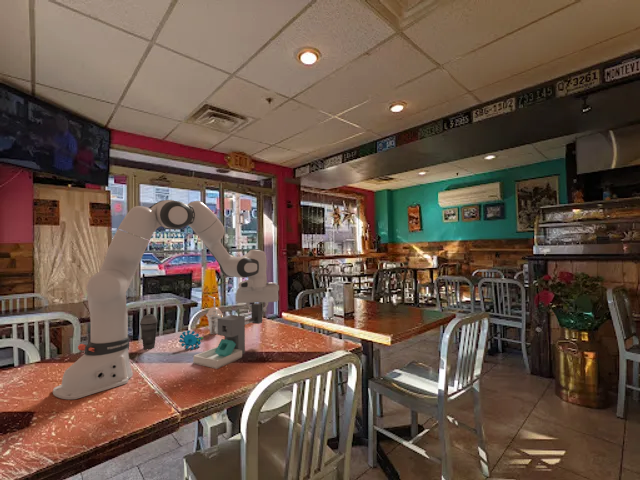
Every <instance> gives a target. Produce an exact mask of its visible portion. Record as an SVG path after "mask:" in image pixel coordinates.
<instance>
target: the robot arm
mask: <svg viewBox="0 0 640 480" xmlns="http://www.w3.org/2000/svg"><path fill="white" fill-rule="evenodd" d="M187 226H189V227H190V228H191V229H192V231H193V232H194V233H195V234H196V235H197V237H199V239H200V240H201V241H202V242H203V244H204V245H205V247H206V249H207V250H208V251H209V253H211V255H212V256H213V258H214V259H215V261H216V262H217V263H218V266H219V269H220V272H221V273H222V275H224V276H225V277H227V278H243V279H244V278H245V280H242V281H240V282H239V283H238V288H237V290H236V295H235V302H236V303H237V304H245V306H246V308H247V309H248V313H252V307H250V304H254V303H265V304H264V305H265V306H264V307H263V306H262V313H263V312H267V308H268V306H269V303H277V302H278V301H279V291H280V285H279V284H278V283H277V282H267V281H268V277H267V276H268V275H267V266H268V265H267V263H268V262H267V254H266V252H265V251H264V250H261V249H255V248H254V249H253V248H252V249H250V250H249V251H248V252H247V253H245V254H243V255H241V256H234V255H231V254H230V253H229V252H228V250H227V249H226V248H225V246H224V245H223V243H222V242H221V240H222V239H223V237H224V235H225V227H224V225H223V223H222V221H221V220H220V219H219V218H218V216H217V215H216V214H215V212H213V211H212V210H211V209H210V208H209V207H208V205H206V204H204V202H202V201H201V200H200V201H199V200H195V201H190V202H189V203H188V204H187V203H185V202H181V201H178V200H173V199H165V200H164V199H163V200H160V201H157V202H155V203H154V204H152V205H151V206H149V207H147V206H143V205H136V206H133V207H131V209H130V210H129V211H128V212H127V214H126V215H125V216H124V218H123V219H122V220H121V222H120V224H119V226H118V228H117V230H116V232H115V234H114V236H113V238H112V240H111V241H110V244H109V246H108V248H107V251H106V254H105V256H104V259H103V262H102V265H101V267H100V269H99V271H97V272H96V273H95V274H92V275H91V277H89V279H88V281H87V284H86V293H87V294H86V295H87V305H88V311H89V319H90V340H89V342H88V343H87V344H84V343H81V344H78V346H77V350H79V351H84V354H83V355H82V356H80V357H79V358H78V359H77V360H76V361H75V362H74V363H72V364H71V365H70V366H69V367H68V368H67V369H66V370H65V371H64V373H63V375H62V379H61V384H60V385H57V386H54V387H53V389H52V394H53V396H54V397H56V398H59V399H62V400H77V399H80V398H84V397H87V396H91V395H93V394H96V393H99V392H103V391H106V390H109V389H113V388H115V387H116V388H117V387H119V386H124V385H125V384H127V383H128V382H129V379H130V378H132V377H133V375H134V373H133V370H132V367H131V361H130V355H129V350H130V336H129V334H128V333H129V332H128V331H129V329H128V327H129V323H128V322H129V319H128V318H129V313H128V306H127V291H128V290H129V288H130V285H131V284H132V281H133V279H134V276H135V275H136V271H137V269H138V267H139V265H140V262H141V260H142V258H143V256H144V254H145V251H146V249H147V247H148V245H149V243H150V241H151V239H152V237H153V235H154V233H155V231H156V230H157V229H159V228H160V227H162V228H165V229H171V230H178V229H182V228H185V227H187ZM246 278H248V279H246Z"/></svg>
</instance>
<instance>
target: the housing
mask: <svg viewBox="0 0 640 480" xmlns="http://www.w3.org/2000/svg"><path fill="white" fill-rule="evenodd" d="M245 320H246V319H245V316H242V315H235V314H229V315H226V316H221V318H218V334H217V336H221V337H224V339H225V340H231V341H233V342H234V343H235V344H236V345H235V347H234V349H238V350H242V355H244V354H246V336H245V335H246V329H245V328H246V327H245V326H246V325H245ZM225 326H227V331H226V330H225Z"/></svg>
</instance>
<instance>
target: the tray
mask: <svg viewBox="0 0 640 480" xmlns="http://www.w3.org/2000/svg"><path fill="white" fill-rule="evenodd" d="M217 347H218V346H216V347H213V348H210V349H208V350H205V351H202V352H200V353H197V354H194V355H193V358H192V359H193V361H192V362H193V364H194V365H199V366H203V367H206V368H207V367H208V368H211V369H215V370H218V369H220V368H222V367H225V366H226V365H227V366H228V365H229V364H231V363H233V362H235V361H238V360H239V359H242V358H243V354H242V350H238V349H233V351H232V353H231V355H228V356H226V357H224V356H219V355H218V354H216V353H215V351H216V349H217Z"/></svg>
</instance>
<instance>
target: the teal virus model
mask: <svg viewBox="0 0 640 480" xmlns="http://www.w3.org/2000/svg"><path fill="white" fill-rule="evenodd" d="M195 333H196V332H195V330H192V331H191V330H189V329H188V330H187V331H182V332H181V334H180V335H179V337H178V338H179V340H178V343H180V346H181V347H184V346H185V347H184V348H185V349H186V350H188V349H189V348H190V350H192V351H194V349H198V348H199V346H200V345H201V344H202V342H201V341H203V339H204V337H203V336H200V335H199V334H200V333H196V334H195ZM199 336H200V337H199Z"/></svg>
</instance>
